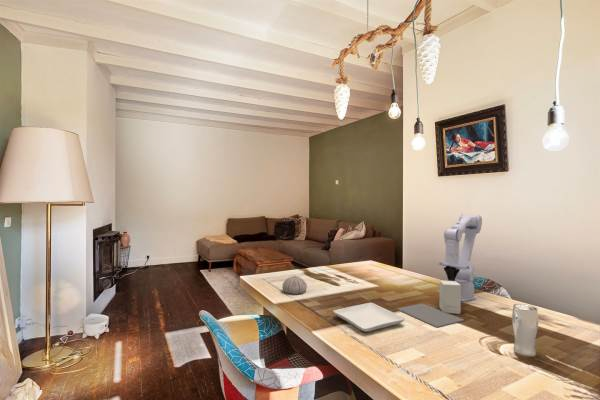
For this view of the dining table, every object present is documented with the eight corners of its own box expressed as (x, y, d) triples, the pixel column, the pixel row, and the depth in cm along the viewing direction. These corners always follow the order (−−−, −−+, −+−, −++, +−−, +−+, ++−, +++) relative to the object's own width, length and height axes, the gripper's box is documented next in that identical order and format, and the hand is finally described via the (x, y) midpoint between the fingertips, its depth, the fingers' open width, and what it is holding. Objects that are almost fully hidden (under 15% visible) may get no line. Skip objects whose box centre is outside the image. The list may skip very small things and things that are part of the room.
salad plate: (364, 337, 116) (364, 328, 116) (331, 317, 135) (331, 309, 135) (406, 326, 126) (406, 318, 126) (371, 309, 144) (371, 302, 144)
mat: (422, 304, 151) (422, 303, 151) (464, 320, 131) (464, 319, 131) (396, 309, 144) (396, 308, 143) (436, 327, 124) (436, 326, 124)
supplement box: (460, 314, 139) (461, 285, 138) (442, 312, 140) (443, 284, 140) (456, 308, 146) (456, 280, 146) (438, 307, 147) (439, 279, 147)
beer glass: (506, 347, 108) (507, 303, 108) (526, 347, 109) (526, 303, 108) (522, 358, 101) (523, 311, 101) (543, 357, 102) (544, 310, 101)
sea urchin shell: (298, 286, 179) (298, 272, 179) (312, 293, 168) (312, 277, 167) (277, 290, 172) (277, 275, 172) (290, 297, 160) (290, 281, 160)
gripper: (433, 252, 155) (432, 280, 155) (459, 256, 142) (458, 287, 142) (444, 251, 158) (443, 279, 158) (470, 256, 145) (469, 286, 145)
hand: (451, 283), depth 150 cm, fingers closed
